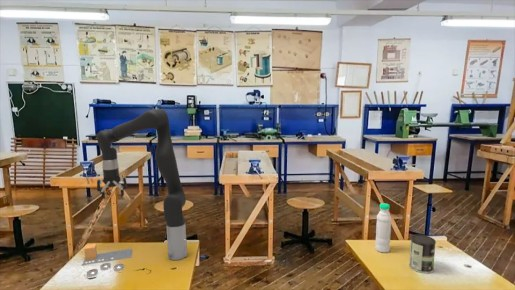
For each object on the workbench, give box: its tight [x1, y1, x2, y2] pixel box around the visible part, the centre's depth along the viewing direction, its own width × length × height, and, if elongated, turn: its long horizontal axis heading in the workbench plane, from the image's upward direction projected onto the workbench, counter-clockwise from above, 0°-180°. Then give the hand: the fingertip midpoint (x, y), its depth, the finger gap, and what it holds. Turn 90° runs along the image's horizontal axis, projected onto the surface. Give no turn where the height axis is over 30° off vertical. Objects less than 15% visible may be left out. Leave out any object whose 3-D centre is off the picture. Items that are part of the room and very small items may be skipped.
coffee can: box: [408, 234, 437, 274], centre depth 144 cm, size 10×10×14 cm
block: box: [84, 243, 98, 260], centre depth 155 cm, size 4×4×6 cm
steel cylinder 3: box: [113, 263, 125, 272], centre depth 145 cm, size 4×4×2 cm
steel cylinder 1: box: [86, 268, 99, 280], centre depth 141 cm, size 4×4×2 cm
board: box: [81, 248, 133, 266], centre depth 156 cm, size 22×10×1 cm, turn 109°
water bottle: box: [374, 202, 392, 254], centre depth 161 cm, size 7×7×25 cm
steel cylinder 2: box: [100, 262, 112, 271], centre depth 146 cm, size 4×4×2 cm
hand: (113, 197), depth 165 cm, fingers open, 8 cm apart
